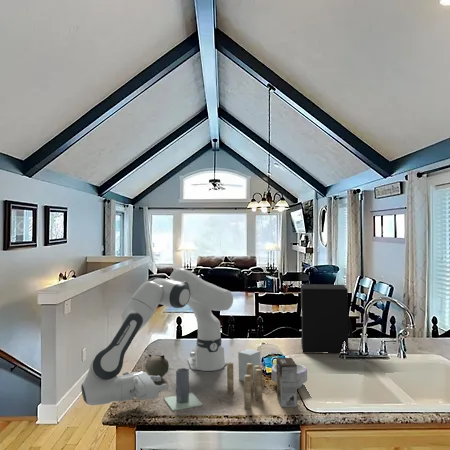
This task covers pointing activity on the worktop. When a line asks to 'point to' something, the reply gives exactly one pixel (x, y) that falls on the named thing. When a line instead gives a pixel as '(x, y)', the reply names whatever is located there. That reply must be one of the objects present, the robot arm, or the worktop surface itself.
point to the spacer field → (247, 383)
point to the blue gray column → (182, 385)
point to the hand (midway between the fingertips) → (163, 382)
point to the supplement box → (247, 361)
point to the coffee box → (286, 382)
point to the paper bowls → (300, 374)
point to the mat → (178, 406)
